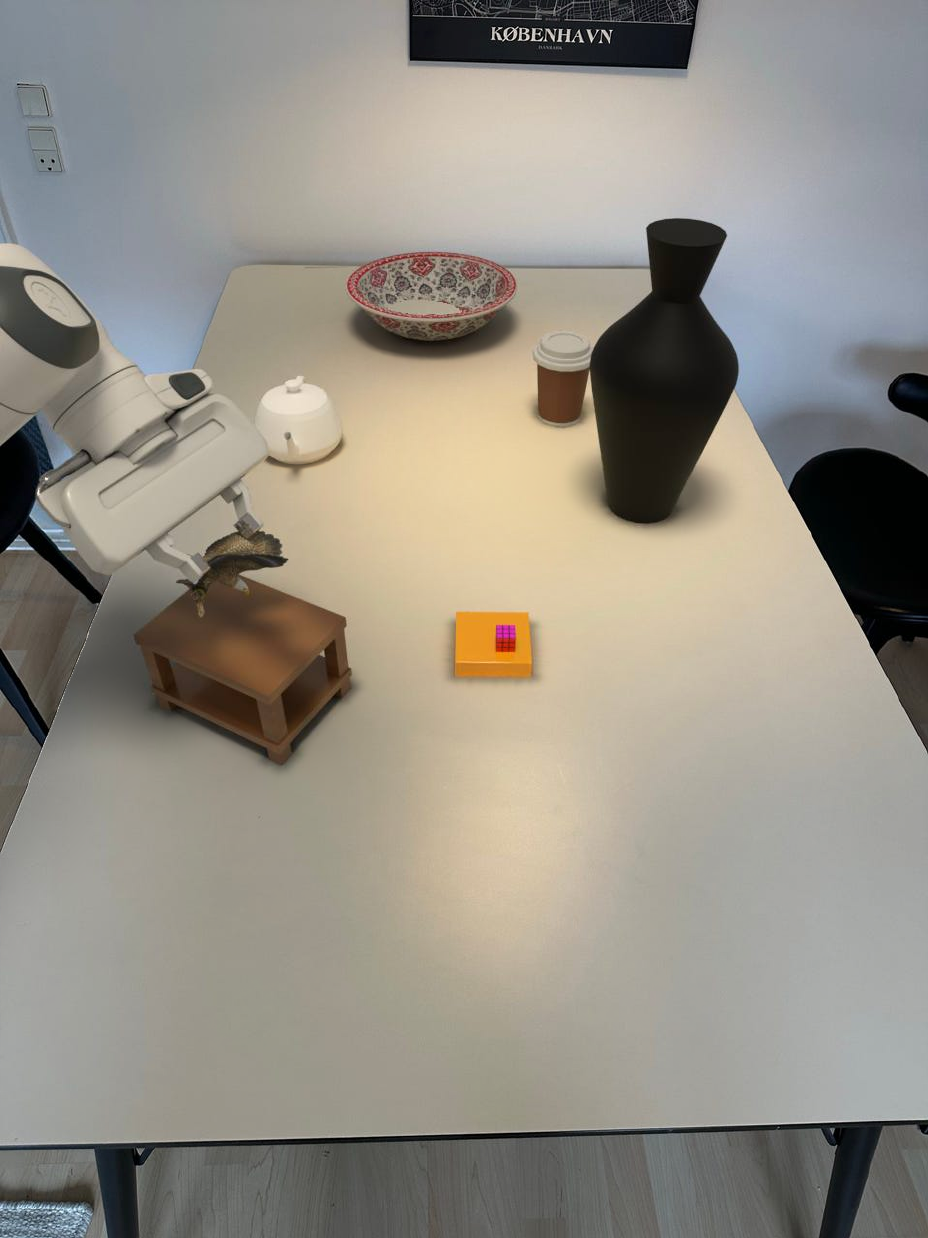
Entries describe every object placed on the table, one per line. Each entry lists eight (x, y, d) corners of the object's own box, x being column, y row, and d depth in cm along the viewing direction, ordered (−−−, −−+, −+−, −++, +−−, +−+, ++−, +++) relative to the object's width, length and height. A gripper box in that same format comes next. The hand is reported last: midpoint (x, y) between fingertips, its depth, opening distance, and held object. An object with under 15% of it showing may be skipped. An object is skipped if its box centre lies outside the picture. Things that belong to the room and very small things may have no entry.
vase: (733, 511, 118) (803, 236, 94) (644, 562, 110) (697, 275, 86) (635, 456, 128) (676, 194, 104) (547, 499, 119) (571, 226, 96)
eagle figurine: (229, 640, 81) (305, 576, 80) (174, 600, 76) (256, 531, 75) (207, 591, 86) (279, 531, 86) (154, 550, 81) (230, 486, 80)
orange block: (455, 677, 95) (455, 648, 92) (456, 626, 101) (456, 597, 98) (530, 678, 95) (533, 649, 92) (527, 626, 101) (529, 598, 98)
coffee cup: (516, 411, 137) (520, 336, 129) (564, 395, 141) (570, 321, 132) (553, 437, 131) (559, 360, 123) (601, 420, 135) (611, 344, 127)
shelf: (282, 768, 86) (268, 696, 79) (156, 706, 92) (132, 634, 85) (353, 688, 94) (346, 617, 87) (233, 636, 99) (217, 565, 93)
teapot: (340, 488, 121) (333, 420, 114) (247, 489, 121) (235, 422, 114) (347, 413, 136) (341, 350, 129) (264, 414, 135) (254, 351, 129)
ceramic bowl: (386, 285, 172) (384, 243, 167) (534, 306, 165) (537, 262, 160) (321, 350, 151) (316, 304, 146) (486, 377, 145) (488, 329, 139)
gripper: (33, 470, 67) (160, 610, 71) (216, 361, 81) (315, 484, 84) (11, 502, 72) (131, 633, 75) (187, 394, 85) (283, 509, 88)
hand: (230, 553), depth 80 cm, fingers closed on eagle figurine, 6 cm apart
